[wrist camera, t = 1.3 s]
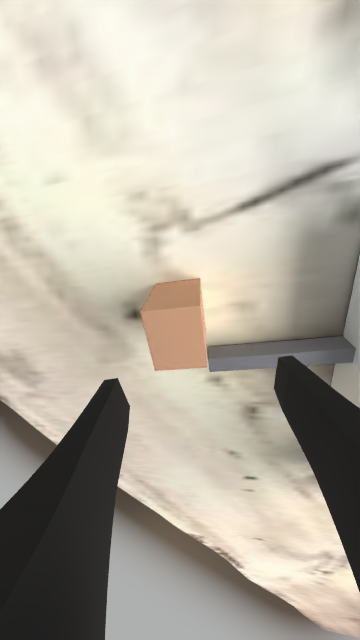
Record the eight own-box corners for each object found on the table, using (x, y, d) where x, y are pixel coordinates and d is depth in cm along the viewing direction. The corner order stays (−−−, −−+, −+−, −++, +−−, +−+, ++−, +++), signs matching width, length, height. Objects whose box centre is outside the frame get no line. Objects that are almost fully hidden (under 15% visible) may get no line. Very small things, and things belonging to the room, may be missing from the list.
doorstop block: (205, 327, 22) (207, 367, 17) (165, 331, 22) (155, 370, 17) (200, 278, 20) (200, 305, 14) (155, 283, 20) (140, 311, 15)
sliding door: (351, 348, 21) (382, 377, 18) (208, 358, 23) (210, 387, 20) (377, 238, 17) (425, 247, 13) (198, 262, 19) (197, 275, 15)
